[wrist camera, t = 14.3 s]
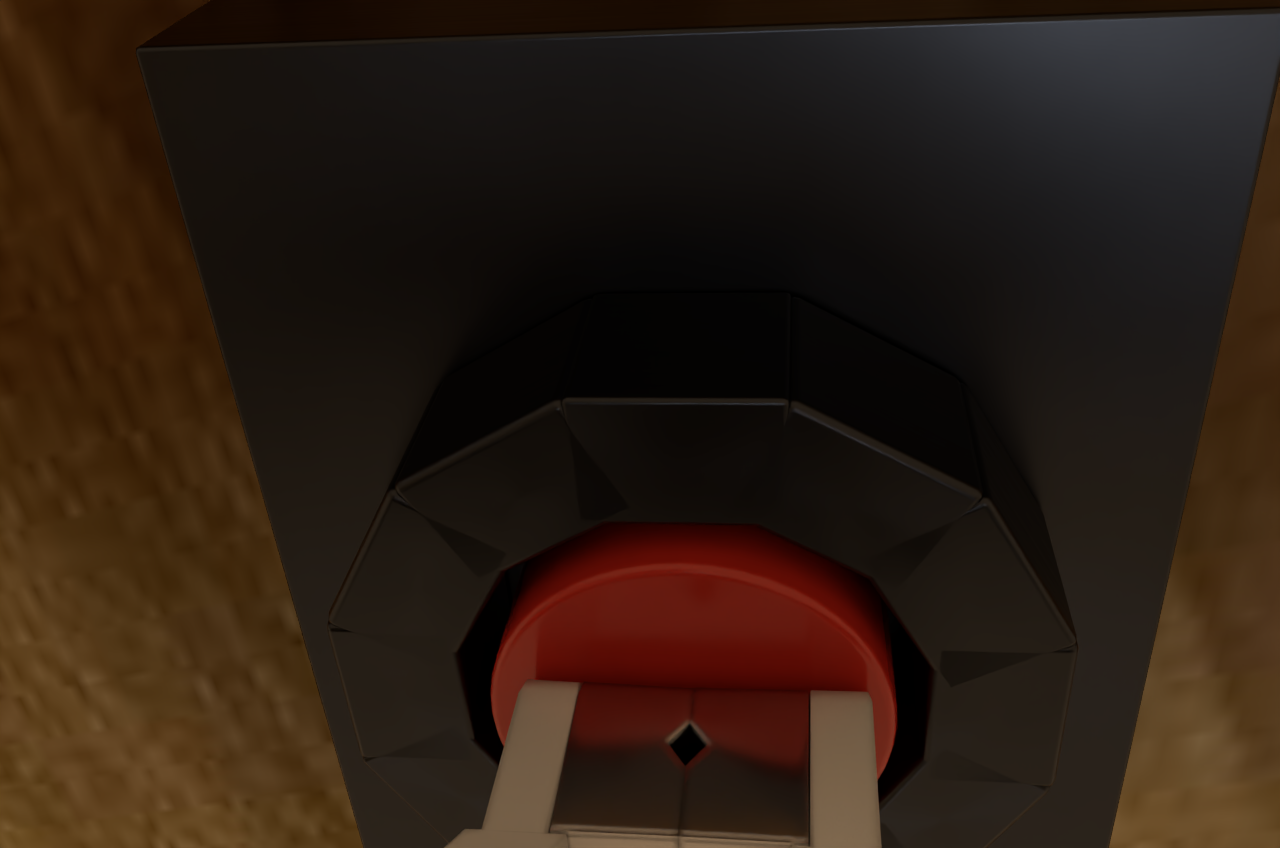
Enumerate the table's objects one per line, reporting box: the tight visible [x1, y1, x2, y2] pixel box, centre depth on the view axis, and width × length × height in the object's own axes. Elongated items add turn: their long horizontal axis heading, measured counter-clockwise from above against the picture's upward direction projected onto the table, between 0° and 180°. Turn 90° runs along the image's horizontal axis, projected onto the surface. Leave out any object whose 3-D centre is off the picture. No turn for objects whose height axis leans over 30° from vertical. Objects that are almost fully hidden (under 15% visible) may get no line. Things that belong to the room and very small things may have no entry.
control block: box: [136, 0, 1280, 848], centre depth 13 cm, size 11×9×4 cm
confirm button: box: [490, 523, 897, 781], centre depth 11 cm, size 4×4×2 cm
